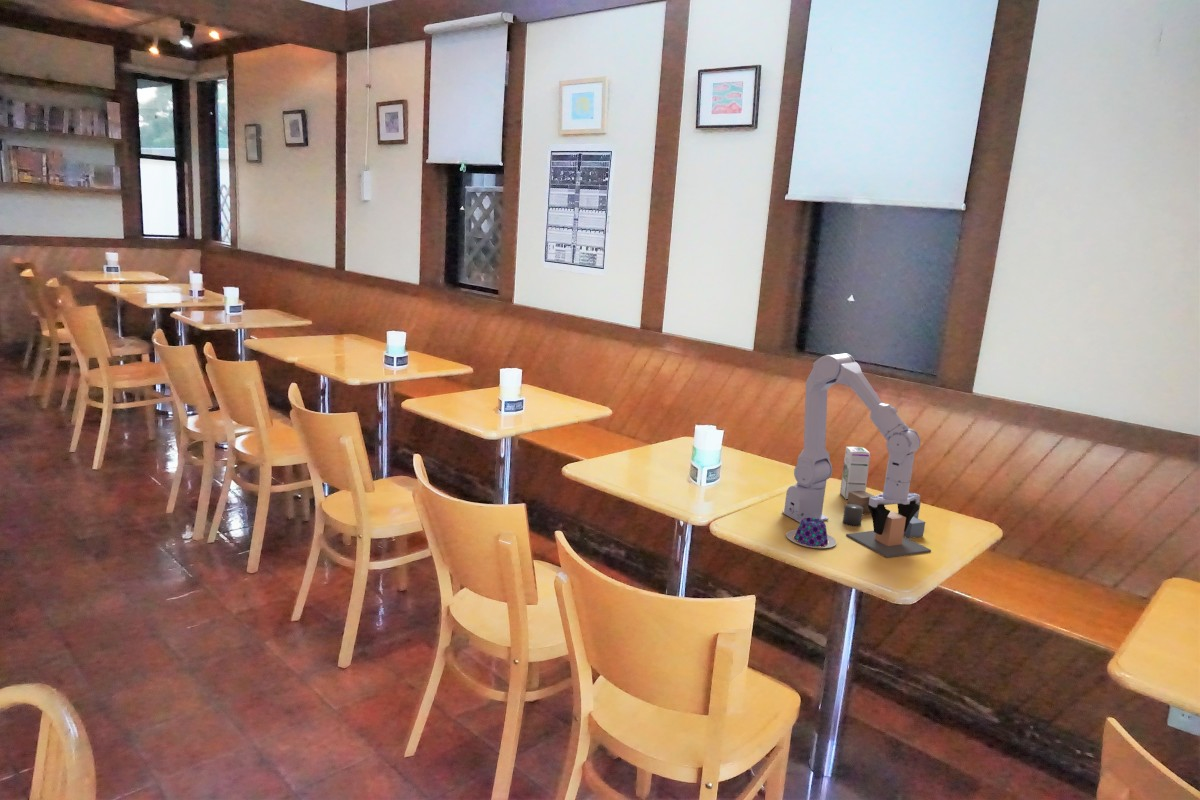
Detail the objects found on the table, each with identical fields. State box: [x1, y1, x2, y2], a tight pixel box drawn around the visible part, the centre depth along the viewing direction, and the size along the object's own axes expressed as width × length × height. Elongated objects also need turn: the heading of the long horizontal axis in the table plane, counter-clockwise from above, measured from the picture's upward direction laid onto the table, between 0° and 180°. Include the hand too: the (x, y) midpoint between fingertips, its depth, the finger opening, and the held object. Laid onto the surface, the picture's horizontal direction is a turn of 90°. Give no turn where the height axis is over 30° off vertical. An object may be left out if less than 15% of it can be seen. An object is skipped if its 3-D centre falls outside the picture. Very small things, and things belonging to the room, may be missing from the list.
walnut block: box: [846, 490, 875, 515], centre depth 218 cm, size 5×5×5 cm
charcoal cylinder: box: [842, 503, 863, 527], centre depth 209 cm, size 5×5×4 cm
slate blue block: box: [903, 517, 926, 539], centre depth 204 cm, size 4×5×4 cm
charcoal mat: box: [845, 530, 932, 559], centre depth 196 cm, size 14×14×1 cm
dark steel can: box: [913, 501, 922, 519], centre depth 214 cm, size 4×4×6 cm
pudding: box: [785, 517, 837, 549], centre depth 194 cm, size 12×12×5 cm
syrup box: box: [839, 446, 871, 500], centre depth 229 cm, size 6×6×14 cm
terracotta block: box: [875, 510, 906, 546], centre depth 195 cm, size 4×4×7 cm
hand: (889, 531), depth 196 cm, fingers open, 7 cm apart
